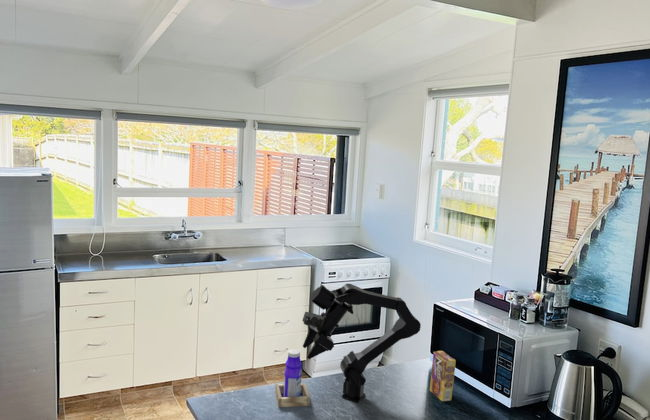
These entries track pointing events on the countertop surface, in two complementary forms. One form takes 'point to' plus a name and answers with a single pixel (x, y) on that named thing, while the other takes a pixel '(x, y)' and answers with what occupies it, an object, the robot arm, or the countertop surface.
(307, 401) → the wooden square frame
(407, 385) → the countertop surface
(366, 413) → the countertop surface
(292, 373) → the bottle
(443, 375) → the candy box
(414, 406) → the countertop surface
